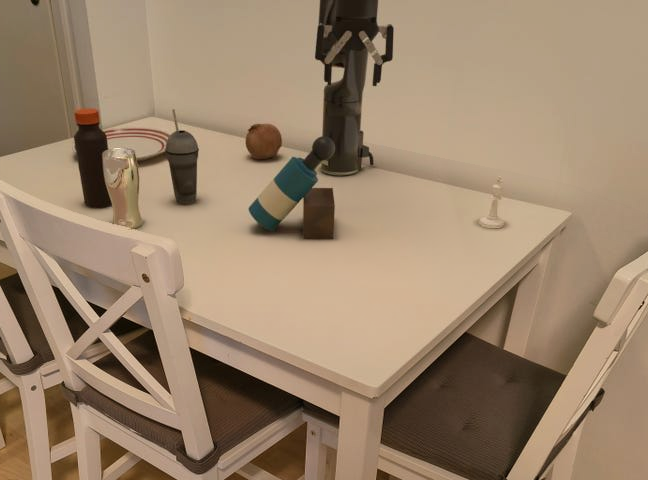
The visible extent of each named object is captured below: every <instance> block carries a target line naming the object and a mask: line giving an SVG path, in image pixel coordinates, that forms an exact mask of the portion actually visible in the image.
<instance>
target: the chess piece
mask: <svg viewBox="0 0 648 480" xmlns="http://www.w3.org/2000/svg"><path fill="white" fill-rule="evenodd" d="M494 181H495V182H496V183H495V184H493V185H492V190H493V195H491V196H490V199H491V200H492V203H491V206H490V209H489V213H488V214H487V215H486V216H482V217H481V218H480V219H479V222H478V224H479V225H480V226H482V227H484V228H487V229H501V228H503V227H504V223H505V221H504V219H502V218H501V217H499V215H498V204H499V201H501V200H502V196H501V195H500V194H501V192H502V191H503V189H504V186H503V185H502V184H503V183H504V180H503V179H502V176H501V175H498V176H497V177H496V178H495V179H494Z"/></svg>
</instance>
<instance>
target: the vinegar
mask: <svg viewBox="0 0 648 480" xmlns="http://www.w3.org/2000/svg"><path fill="white" fill-rule="evenodd" d="M73 113H74V119H75V124H76V126H77V127H78V130H77V131H76V132H75V134H74V136H73V143H74V142H75V148H76V153H75V154H76V158H77V165H78V172H79V177H80V183H81V189H82V195H83V201H84V204H85V206H86V207H88V208H93V209H103V208H107V207H110V206H112V203H111V200H110V197H109V194H108V191H107V188H106V184H105V180H104V174H103V162H102V153H103V152H104V151H106V150H108V143H107V136H106V134H105V132H103V131H102V130H103V129H101V127H100V124H101V119H100V113H99V109H96V108H92V107H91V108H80V109H77V110H74V112H73Z"/></svg>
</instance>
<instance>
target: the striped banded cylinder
mask: <svg viewBox="0 0 648 480" xmlns="http://www.w3.org/2000/svg"><path fill="white" fill-rule="evenodd" d="M334 152H335V144H334V142H333V141H332V139H330V138H329V137H326V136H322V135H321V136H319V137H317V138H316V139H315V140H314V141H313V142H312V146H311V151H310V152H309V153H308V154H307V156H305V158H303V157H296V156H291V158H290V159H289V160H288V162H286V163H285V165H284V166H283V167H282V168H281V169H280V171H279V172H278V173H277V174H276V175H275V176H274V178H273V179H272V180H271V181H270V182H269V183H268V184H267V186H266V187H265V188H264V189H263V190H262V191H261V192H260V194H259V195H258V196H257V197H256V199H254V201H253V202H252V203H251V204H250V206H248V212H249V214H250V216H251V217H252V219H253V220H254V221H255V222H256V223H257V224H259V225H260V226H261V227H263V228H264V229H266V230H267V231H271V232H272V231H273V232H274V230H276V229H277V227H278V226H279V225H280V224H281V223H282V222H283V221H284V220H285V218H286V217H287V216H289V214H290V213H291V212H292V211H293V210H294V209H295V208H296V206H297V205H298V204H299V203H300V202H301V201H302V199H303V197H304V196H305V195H306V194H307V193H308V192H309V191H310V189H311V188H314V186H315V185H316V184H317V183H319V178H318V176H317V175H318V173H317V171H316V168H318V166H320V165H321V162H322V160H327V159H329V158H331V157H332V156H333V154H334Z"/></svg>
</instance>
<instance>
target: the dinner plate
mask: <svg viewBox="0 0 648 480" xmlns="http://www.w3.org/2000/svg"><path fill="white" fill-rule="evenodd" d="M101 130H102V131H103V132H105V134H106V136H107V143H108V150H109V149H113V148H129V149H133V150H135V153H136V159H137V163H139V162H143V161H146V160H147V161H148V160H150V159H152V158H154V157H156V156H159V155H161V154H163V153H166V152H165V149H166V142H167V140H168V138H169V136H170V135H171V134H172V133H170V132H168V131H166V130H163V129H158V128H153V127H141V126H139V127H138V126H137V127H135V126H131V127H117V128H116V127H115V128H109V129H101ZM71 149H72V151H73V153H75V154H76V148H75V142H74V141H73V143H72V145H71Z"/></svg>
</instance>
